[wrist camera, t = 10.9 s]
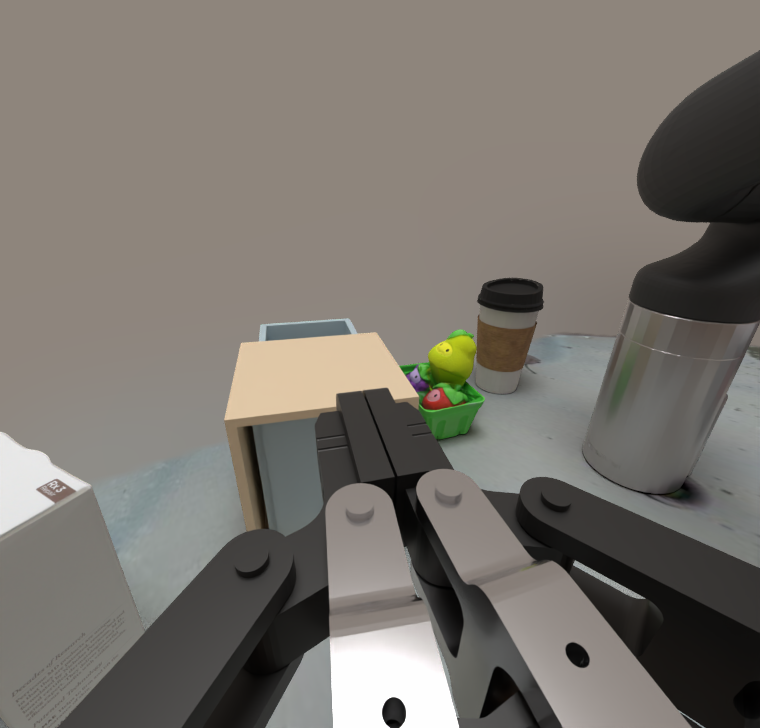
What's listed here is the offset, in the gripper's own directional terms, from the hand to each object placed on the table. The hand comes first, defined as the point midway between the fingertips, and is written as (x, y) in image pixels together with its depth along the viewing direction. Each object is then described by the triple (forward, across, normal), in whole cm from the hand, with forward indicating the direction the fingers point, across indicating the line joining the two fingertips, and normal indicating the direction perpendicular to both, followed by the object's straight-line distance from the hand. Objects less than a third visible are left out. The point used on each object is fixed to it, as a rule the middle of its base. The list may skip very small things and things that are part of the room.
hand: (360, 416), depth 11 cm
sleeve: (+16, 0, +21) cm, 26 cm away
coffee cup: (+33, -27, +22) cm, 48 cm away
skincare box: (+6, +16, +20) cm, 27 cm away
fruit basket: (+27, -15, +22) cm, 38 cm away
